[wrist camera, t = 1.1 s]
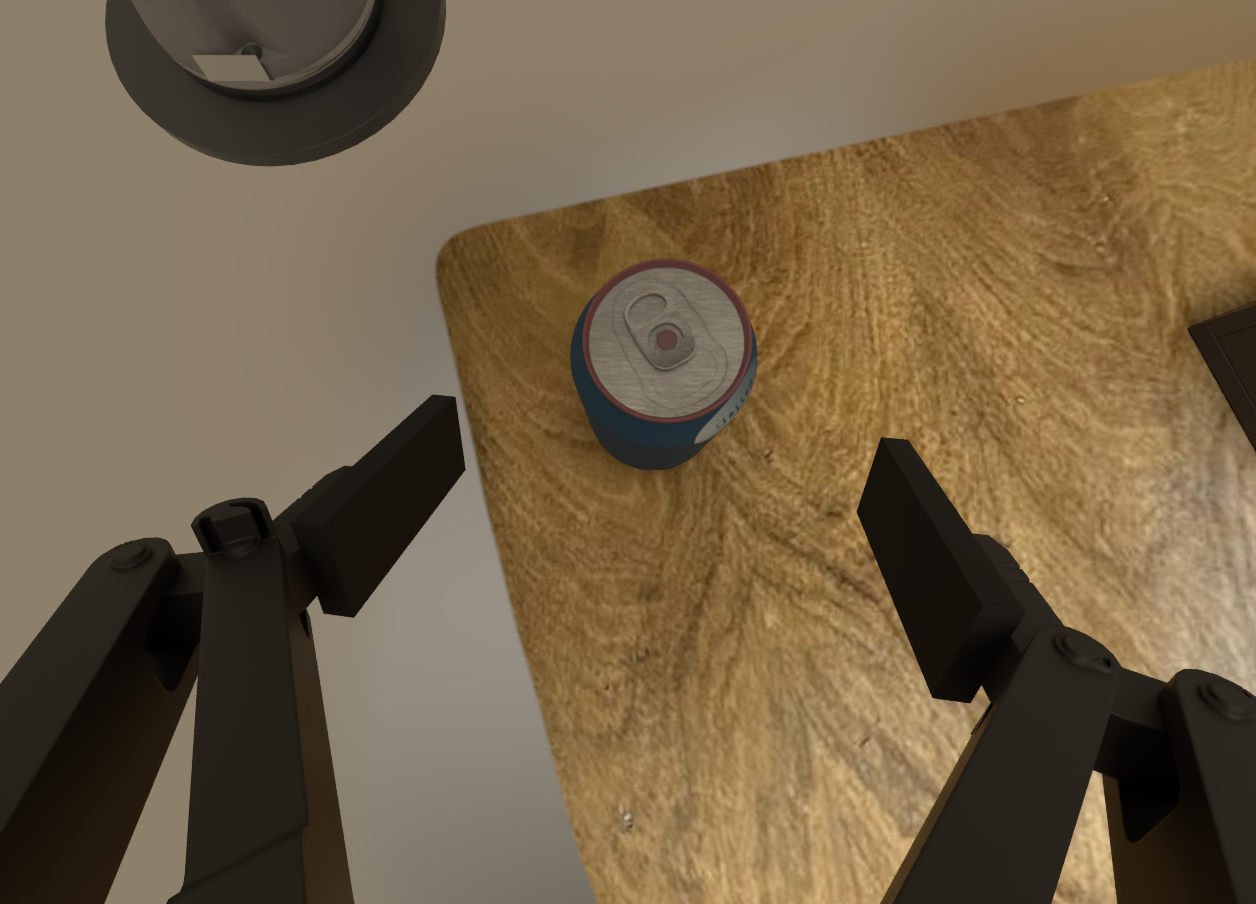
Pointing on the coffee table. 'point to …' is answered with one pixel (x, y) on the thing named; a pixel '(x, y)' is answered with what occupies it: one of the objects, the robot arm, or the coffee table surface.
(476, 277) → the coffee table surface
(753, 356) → the soda can
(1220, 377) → the square wooden tray
